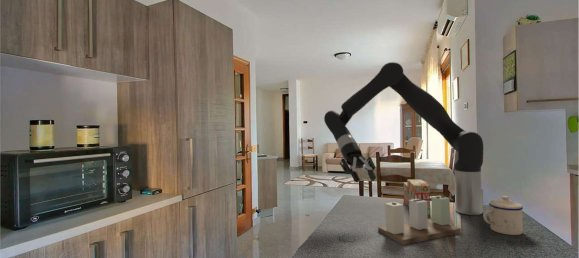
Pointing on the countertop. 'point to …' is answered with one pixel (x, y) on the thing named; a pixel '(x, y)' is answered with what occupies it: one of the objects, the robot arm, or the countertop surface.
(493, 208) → the teacup with lid
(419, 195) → the stack of blocks
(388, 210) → the one dot key
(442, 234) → the brown wooden board
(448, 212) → the two dot key
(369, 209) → the countertop surface
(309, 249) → the countertop surface
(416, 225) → the three dot key
